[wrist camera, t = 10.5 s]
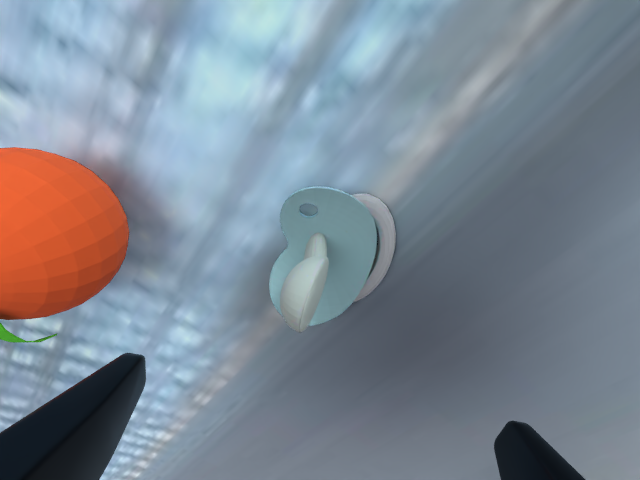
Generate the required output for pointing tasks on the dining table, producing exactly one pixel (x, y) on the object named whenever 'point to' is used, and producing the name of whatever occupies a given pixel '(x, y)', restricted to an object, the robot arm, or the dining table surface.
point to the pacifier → (330, 254)
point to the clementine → (54, 235)
